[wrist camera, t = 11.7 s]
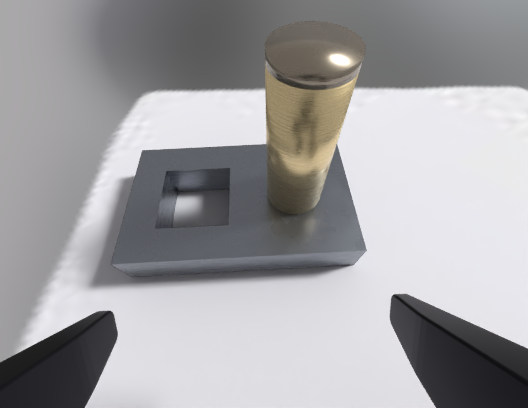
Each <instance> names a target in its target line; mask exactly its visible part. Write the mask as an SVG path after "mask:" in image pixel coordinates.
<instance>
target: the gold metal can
mask: <svg viewBox="0 0 528 408" xmlns="http://www.w3.org/2000/svg"><path fill="white" fill-rule="evenodd" d="M365 50H366V48H365V44H364V41H363V40H362V38H361V37H360V36H359V35H357V34H356V33H355V32H353V31H352V30H350V29H348V28H346V27H343V26H340V25H337V24H333V23H328V22H319V21H305V22H296V23H292V24H288V25H285V26H282V27H280V28H278V29H276V30H275V31H273V32H272V33H271V34H270V35H269V36H268V38H267V39H266V42H265V77H266V78H265V79H266V145H267V194H268V198H269V200H270V202H271V203H272V205H273V206H274V207H276V208H277V209H278V210H280V211H282V212H285V213H288V214H302V213H305V212H308V211H310V210H311V209H313V208H314V207H315V206H316V205H317V203H318V201H319V199H320V196H321V193H322V189H323V186H324V183H325V180H326V176H327V173H328V170H329V167H330V164H331V160H332V157H333V154H334V151H335V148H336V144H337V141H338V138H339V135H340V132H341V128H342V125H343V122H344V119H345V116H346V112H347V109H348V106H349V103H350V100H351V96H352V93H353V90H354V87H355V83H356V80H357V77H358V74H359V71H360V68H361V64H362V61H363V58H364V55H365Z"/></svg>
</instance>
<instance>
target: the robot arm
mask: <svg viewBox="0 0 528 408" xmlns="http://www.w3.org/2000/svg"><path fill="white" fill-rule="evenodd" d="M390 321H391V324H392V327H393V329H394V331H395V333H396V335H397V337H398V339H399V341H400V343H401V345H402V347H403V349H404V351H405V353H406V355H407V357H408V359H409V361H410V364H411V366H412V367H413V369H414V371H415V373H416V375H417V377H418V378H419V380H420V382H421V383H422V385H423V387H424V388H425V390H426V392H427V393H428V395H429V397H430V398H431V400H432V402H433V403H434V405H435V407H436V408H528V349H527V348H525V347H523V346H521V345H518V344H516V343H514V342H512V341H510V340H507V339H505V338H503V337H501V336H498V335H496V334H494V333H492V332H490V331H487V330H485V329H483V328H481V327H479V326H476V325H474V324H472V323H470V322H467V321H465V320H463V319H461V318H459V317H456V316H454V315H452V314H450V313H447V312H445V311H443V310H441V309H439V308H436V307H434V306H432V305H430V304H428V303H425V302H423V301H421V300H419V299H416V298H414V297H412V296H410V295H408V294H394V295H393V296H392V298H391V308H390ZM117 336H118V332H117V327H116V323H115V318H114V314H113V312H111V311H98V312H96V313H94V314H92V315H90V316H88V317H86V318H84V319H82V320H80V321H78V322H76V323H75V324H73V325H71V326H69V327H67V328H65V329H63V330H61V331H59V332H57V333H56V334H54V335H52V336H50V337H48V338H46V339H44V340H42V341H40V342H38V343H36V344H35V345H33V346H31V347H29V348H27V349H25V350H23V351H21V352H19V353H17V354H16V355H14V356H12V357H10V358H8V359H6V360H4V361H2V362H0V408H85V406H86V404H87V402H88V400H89V399H90V397H91V395H92V393H93V391H94V389H95V387H96V385H97V383H98V380H99V378H100V376H101V374H102V372H103V369H104V367H105V365H106V363H107V361H108V358H109V356H110V354H111V352H112V349H113V347H114V345H115V343H116V340H117Z"/></svg>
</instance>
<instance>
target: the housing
mask: <svg viewBox="0 0 528 408" xmlns="http://www.w3.org/2000/svg"><path fill="white" fill-rule="evenodd" d="M218 189H230V193H229V225H218V226H199V227H180V228H172V223H173V217H174V211H175V204H176V198H177V192H179V191H198V190H218ZM366 251H367V250H366V247H365V243H364V239H363V236H362V232H361V229H360V225H359V221H358V218H357V214H356V211H355V207H354V204H353V200H352V196H351V193H350V189H349V186H348V182H347V178H346V175H345V171H344V168H343V164H342V161H341V157H340V153H339V150H338V146H337V144H336V148H335V151H334V154H333V157H332V160H331V164H330V167H329V170H328V173H327V176H326V180H325V183H324V186H323V189H322V193H321V196H320V199H319V201H318V203H317V205H316V206H315V207H314V208H313V209H311V210H310V211H308V212H305V213H302V214H288V213H285V212H282V211H280V210H278V209H277V208H276V207H274V206H273V205H272V203H271V202H270V200H269V198H268V194H267V145H266V144H262V145H242V146H223V147H203V148H183V149H163V150H143V151H142V153H141V157H140V161H139V164H138V168H137V171H136V175H135V179H134V182H133V186H132V189H131V193H130V197H129V200H128V204H127V207H126V211H125V215H124V218H123V222H122V225H121V229H120V233H119V236H118V240H117V243H116V247H115V251H114V254H113V258H112V261H111V265H112V266H114V267H116V268H117V269H119V270H121V271H123V272H124V273H126V274H128V275H129V276H131V277H140V276H158V275H176V274H194V273H212V272H231V271H249V270H267V269H285V268H303V267H322V266H340V265H354V264H355V263H356V262H357V261H358V260H359V258H360V257H361V256H362V255H363V254H364V253H365V252H366Z"/></svg>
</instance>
